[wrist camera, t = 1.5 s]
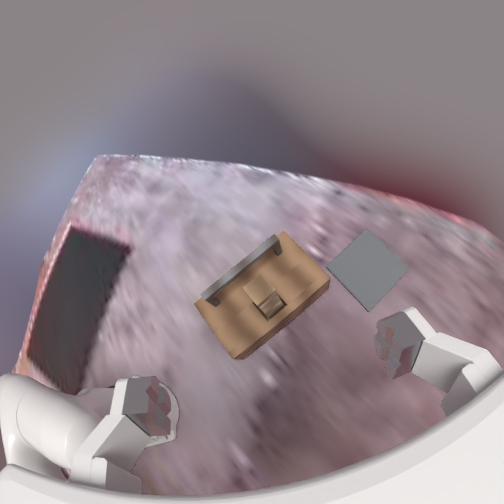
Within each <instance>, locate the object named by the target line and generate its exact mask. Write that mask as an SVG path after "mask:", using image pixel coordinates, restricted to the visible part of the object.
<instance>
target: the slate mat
mask: <svg viewBox="0 0 504 504" xmlns="http://www.w3.org/2000/svg"><path fill="white" fill-rule="evenodd" d="M326 268H327V269H328V270H329V271H330V272H331V273H332V274H333V275H334V276H335V277H336V278H337V279H338V280H339V281H340V282H341V283H342V284H343V286H344V287H345V288H346V289H347V290H348V291H349V292H350V293H351V294H352V295H353V296H354V297H355V298H356V299H357V300H358V301H359V302H360V304H361V305H362V306H363V307H364V308H365V309H366V310H367V311H368V312H369V311H370V310H371V309H372V308H373V307H374V306H375V305H376V304H377V303H378V302H379V301H380V300H381V299H382V298H383V297H384V296H385V295H386V294H387V293H388V292H389V290H390V289H391V288H392V287H393V286H394V285H395V284H396V283H397V282H398V281H399V280H400V278H401V277H402V276H403V275H404V274H405V273H406V272H407V271H408V267H407V266H406V265H405V264H404V263H403V262H402V261H401V260H400V259H399V258H398V257H397V256H396V255H395V254H394V253H393V252H392V251H391V250H390V249H389V248H387V247H386V246H385V245H384V244H383V243H382V242H381V241H380V240H379V239H378V238H377V237H376V236H375V235H374V234H373V233H372V232H371V231H370V230H368V229H366V230H365V231H364V232H363V233H362V234H361V235H360V236H359V237H358V238H357V239H355V240H354V241H353V242H352V243H351V244H350V245H349V246H348V247H347V248H346V249H345V250H344V251H343V252H341V253H340V254H339V255H338V256H337V257H336V258H335V259H334V260H333V261H332V262H331V263H329V264H328V265H327V266H326Z"/></svg>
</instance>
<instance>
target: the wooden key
mask: <svg viewBox="0 0 504 504" xmlns="http://www.w3.org/2000/svg"><path fill="white" fill-rule="evenodd" d="M243 289H244V290H245V292H246V293H247V294H248V295H249V296H250V298H251V299H252V300H253V301H254V302H255V304H256V305H257V306H258V307H259V308H260V309H261V310H262V311H263V312H264V313H265V314H266V315H267V316H268V317H269V318H270V319H271V318H272V317H273V316H275V315H276V314H277V313H278V312H279V311H281V310H282V309H283V308H284V306H283V304H282V302H281V300H280V298H279V296H278V294H277V291H276V289H275V288H274V287H273V286H272V285H271V284H270V283H269V281H268V280H267V279H266V278H265V277H264V276H263V274H262V273H260V274H258V275H257V276H256V277H255V278H254V279H252V280H251V281H250V282H249V283H248V284H246V285H245V286H244V287H243Z"/></svg>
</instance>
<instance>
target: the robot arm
mask: <svg viewBox="0 0 504 504" xmlns="http://www.w3.org/2000/svg"><path fill="white" fill-rule="evenodd" d="M376 328H377V330H378V332H377V334H376V335H375V339H374V344H375V349H376V352H377V354H378V356H379V357H380V359H383V360H385V361H386V365H385V367H386V369H387V371H388V372H389V374H390V376H391V377H392V379H395V378H397V377H400V376H402V375H404V374H406V373H409V372H411V371H412V373H413V374H415V375H417V376H418V377H420V378H422V379H424V380H425V381H427V382H429V383H431V384H432V385H434V386H436V387H437V388H439V389H441V390H443V391H444V392H446V393H447V394H446V396H445V397H444V399H443V400H442V402H441V405H440V406H441V408H442V409H443V411H444V413H445V415H446V416H447V417H446V418H444V419H443V420H441V421H440V422H438V423H436V424H435V425H433V426H431V427H430V428H428V429H426V430H425V431H423V432H421V433H419V434H417V435H416V436H414V437H412V438H410V439H408V440H406V441H404V442H402V443H400V444H398V445H396V446H394V447H392V448H390V449H388V450H386V451H383V452H381V453H379V454H377V455H374V456H372V457H370V458H367V459H365V460H362V461H360V462H357V463H354V464H352V465H349V466H346V467H343V468H341V469H338V470H335V471H332V472H328V473H325V474H322V475H319V476H315V477H312V478H308V479H304V480H300V481H296V482H292V483H288V484H283V485H278V486H273V487H268V488H263V489H257V490H250V491H243V492H234V493H225V494H212V495H188V496H172V495H149V494H142V480H141V479H140V478H138V477H137V476H135V475H133V474H131V473H130V472H131V470H132V469H133V467H134V465H135V464H136V462H137V460H138V458H139V457H140V455H141V453H142V452H143V450H144V448H146V447H150V446H154V445H158V444H162V443H165V442H169V441H172V440H175V439H176V437H177V433H176V425H177V422H178V418H179V408H178V404H177V401H176V398H175V397H174V395H173V393H172V392H171V391H170V390H169V389H168V388H167V387H166V386H165V385H164V384H162V383H160V381H159V380H158V379H157V377H156V376H151V377H140V376H137V375H136V376H133V377H132V378H127V379H118V381H117V382H116V385H115V386H110V387H108V388H85V389H83V390H81V391H80V392H79V393H78V394H77V395H69V394H65V393H62V392H59V391H56V390H54V389H52V388H49V387H47V386H45V385H43V384H41V383H40V382H38V381H36V380H34V379H33V378H31V377H28V376H25V375H21V374H15V373H8V374H5V375H3V376H1V377H0V427H1V433H2V439H3V445H4V450H5V455H6V461H7V466H5V467H4V468H3V469H2V471H1V472H0V504H504V371H503V369H502V368H501V367H500V365H499V364H498V363H497V362H496V360H495V359H494V358H493V357H492V355H491V354H490V353H489V352H488V350H486V349H483V348H480V347H478V346H475V345H472V344H470V343H467V342H464V341H462V340H459V339H457V338H454V337H451V336H449V335H446V334H443V333H441V332H439V333H436V332H435V331H434V329H433V328H432V327H431V326H430V325H429V324H428V322H427V321H426V320H425V319H424V318H423V317H422V315H421V314H420V313H419V312H418V311H417V310H416V309H415V308H414V307H410V308H408V309H405V310H403V311H401V312H397V313H395V314H393V315H390V316H388V317H385V318H383V319H380V320H379V321H378V322H377V326H376ZM167 436H168V438H167ZM59 466H61V467H63V468H66V469H68V470H70V471H71V478H70V482H68V481H67V480H66V479H65V477H64V476H63V474H62V472H61V470H60V468H59Z"/></svg>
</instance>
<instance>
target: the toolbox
mask: <svg viewBox="0 0 504 504" xmlns="http://www.w3.org/2000/svg"><path fill="white" fill-rule="evenodd" d="M260 273H262V274H263V276H264V277H265V278H266V279H267V280H268V281H269V283H270V284H271V285H272V286H273V287H274V288H275V289H276V291H277V294H278V296H279V298H280V300H281V302H282V304H283V306H284V308H283V309H282V310H281V311H279V312H278V313H277V314H276V315H275V316H273V317H272V318H271V319H270V318H269V317H268V316H267V315H266V314H265V313H264V312H263V311H262V310H261V309H260V308H259V307H258V306H257V305H256V304H255V302H254V301H253V300H252V299H251V298H250V296H249V295H248V294H247V293H246V292H245V290H244V289H243V287H244V286H245V285H246V284H248V283H249V282H250V281H251V280H252V279H254V278H255V277H256V276H257V275H258V274H260ZM329 283H330V277H329V276H328V275H327V274H326V273H325V272H324V271H323V270H322V269H321V268H320V267H319V266H318V265H317V264H316V262H315V261H314V260H313V259H312V258H311V257H310V256H309V255H308V254H307V253H306V252H305V251H304V250H303V249H302V248H301V247H300V246H299V245H298V244H297V243H296V242H295V241H294V240H293V239H292V238H291V237H290V236H289V235H288V234H287V233H286V232H285V231H282V232H281V233H280V234H279V235H278V236H275V235H272V236H271V237H270V238H269V239H268V240H266V241H265V242H264V243H263V244H261V245H260V246H259V247H258V248H257V249H255V250H254V251H253V252H252V253H250V254H249V255H248V256H247V257H246V258H244V259H243V260H242V261H241V262H239V263H238V264H237V265H236V266H234V267H233V268H232V269H231V270H230V271H228V272H227V273H226V274H225V275H223V276H222V277H221V278H220V279H219V280H217V281H216V282H215V283H214V284H212V285H211V286H210V287H209V288H208V289H206V290H205V291H204V292H203V293H201V296H202V298H200V299H199V300H198V301H197V302H196V303H194V305H195V307H196V308H197V309H198V311H199V312H200V314H201V315H202V317H203V318H204V319H205V321H206V322H207V324H208V325H209V327H210V328H211V329H212V331H213V332H214V333H215V335H216V336H217V338H218V339H219V340H220V342H221V343H222V344H223V346H224V347H225V348H226V350H227V351H228V352H229V354H230V355H231V356H232V358H233V359H243V360H244V359H245V358H246V357H247V356H249V355H250V354H251V353H253V352H254V351H255V350H256V349H258V348H259V347H260V346H262V345H263V344H264V343H265V342H267V341H268V340H269V339H270V338H272V337H273V336H274V335H275V334H276V333H278V332H279V331H280V330H281V329H283V328H284V327H285V326H286V325H287V324H289V323H290V322H291V321H292V320H293V319H294V318H296V317H297V316H298V315H299V314H300V313H301V312H303V311H304V310H305V309H306V308H307V307H308V306H310V305H311V304H312V303H313V302H314V301H315V300H316V299H318V298H319V297H320V296H321V295H322V294H323V293H324V292H325V291H326V290H328V288H329Z"/></svg>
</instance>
